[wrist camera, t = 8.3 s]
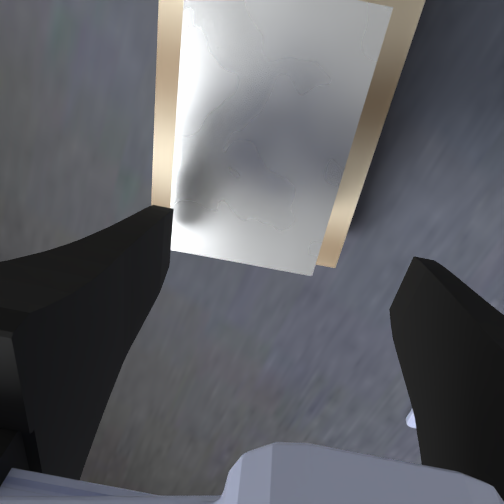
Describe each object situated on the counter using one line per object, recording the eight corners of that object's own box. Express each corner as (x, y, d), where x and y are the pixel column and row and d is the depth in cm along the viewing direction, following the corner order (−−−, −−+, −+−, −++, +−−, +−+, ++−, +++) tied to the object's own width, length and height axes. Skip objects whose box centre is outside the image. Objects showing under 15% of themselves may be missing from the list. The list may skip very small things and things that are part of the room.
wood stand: (330, 237, 22) (335, 268, 20) (166, 205, 22) (150, 233, 20) (434, -94, 15) (463, -113, 12) (187, -144, 15) (165, -173, 12)
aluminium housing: (308, 211, 18) (312, 276, 14) (197, 190, 18) (167, 249, 14) (374, -39, 13) (412, -55, 9) (223, -69, 13) (189, -99, 9)
